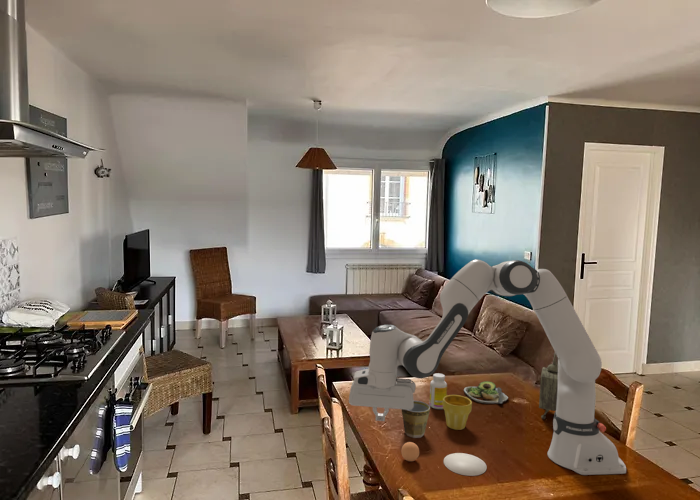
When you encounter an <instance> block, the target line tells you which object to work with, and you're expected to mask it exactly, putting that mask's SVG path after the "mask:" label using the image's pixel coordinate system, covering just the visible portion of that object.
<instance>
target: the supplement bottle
mask: <svg viewBox="0 0 700 500" xmlns="http://www.w3.org/2000/svg"><path fill="white" fill-rule="evenodd" d="M432 378H433V379H432V380H431V381H430V383H429V404H428V405H429V406H430V408H433V409H435V410H444V409H443V398H444V397H445V396H448V393H447V391H448V383H447V382H446V381H445V379H446V375H445V374H443V373H439V372H438V373H433V374H432Z"/></svg>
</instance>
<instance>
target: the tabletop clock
mask: <svg viewBox="0 0 700 500" xmlns="http://www.w3.org/2000/svg"><path fill="white" fill-rule="evenodd" d="M556 357H557V355H556V353H555V352H554V353H553V360H552V363H550V364H549V365H547V367H545V366H543V367H542V369H541V375H540V384H539V385H540V386H539V388H540V389H539V399H538V400H539V401H538V403H539V404H538V409H541V410H545V411H544V414H542V415H541V416H540V417H541V419H542V420H545V419H547V417H546V415H547V413H548V412H550V411H554V412H556V405H557V390H558V364H557V360H556Z"/></svg>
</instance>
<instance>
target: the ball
mask: <svg viewBox="0 0 700 500" xmlns="http://www.w3.org/2000/svg"><path fill="white" fill-rule="evenodd" d="M400 450H401V455H402V458H403V459H404V460H405V461H407V462H414V461H417V459H418V458H419V456H420V448H419V446H418V445H417V444H416V443H414V442H412V441H407V442H405V443H404V444H403V445H402V446H401V449H400Z"/></svg>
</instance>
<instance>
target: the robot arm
mask: <svg viewBox="0 0 700 500" xmlns="http://www.w3.org/2000/svg"><path fill="white" fill-rule="evenodd" d="M488 292H490V293H493V294H494V295H497V296H502V297H513V296H517V295H524V296H525V297H526V299H527V300H528V301H529V303H530V305H531V308H532V309H533V311H534V313H535V315H536V317H537V319H538V321H539V323H540V324H541V327H542V329H543V330H544V333H545V335H546V336H547V338H548V341H549V342H550V345H551V347H552V348H553V350H554V353H556V357H557V365H558V390H557V405H556V411H554V415H553V420H552V426H553V427H552V429H553V433H552V439H551V442H550V446H549V449H548V451H547V457H548V458H549V459H550V460H551V461H552V462H554V463H555V464H556V465H559V466H560V467H563V468H565V469H568V470H572V471H574V472H575V473H576V474H579V475H582V476H588V475H589V476H591V475H620V474H621V475H623V474H627V467H626V464H625V463H624V461H623V460H622V459H621V458H620V457H619V453H618V450H617V447H616V446H615V443H613V442H612V441H611V440H610V439H609V438H608V437H607V436H606V435H605V434H604V432H605V431H607V427H606V425H604V424H603V423H602V422H600V421H599V420H598V419H597V418H595V411H596V397H597V395H596V380H597V379H598V378H599V376H600V374H601V372H602V365H603V364H602V358H601V356H600V354H599V353H598V350H597V349H596V347H595V345H594V343H593V341H592V340H591V337H590V335H589V334H588V332H587V329H585V327H584V325H583V323H582V321H581V319H580V318H579V315H578V313H577V311H576V310H575V307H574V306H573V303H572V302H571V301H570V299H569V297H568V295H567V293H566V291H565V289H564V287H563V286H562V285H561V283H560V282H559V280H558V279H557V278H556V276H555V275H554V274H553V273H552V272H551V271H550V270H549V269H546V268H537V269H535V268H534V267H532V266H531V265H530V264H528V263H527V262H525V261H523V260H518V259H513V260H507V261H502V262H501V263H499V264H498V263H497V264H494V265H492V266H491V265H490V264H488V263H487V262H486V261H484V260H481V259H473V260H470V261H469V262H468V263H466V264H465V265H464V266H463V267H461V269H459V270H458V271H457V272H456V273H455V274H454V275H453V276H452V277H451V278H450V279H449V281H448V282H447V283H445V285H444V287H443V289H442V290H441V292H440V294H439V303H440V305H441V308H442V317H441V319H440V321H439V322H438V324H437V325H436V326H435V327H434V329H433V330H432V331H431V333H430V334H429V336H427V338H426V339H425V340H422V339H420V338H419V337H418V336H416V335H414V334H410V333H407V332H404V331H403V330H401V329H400V328H398V326H396V325H394V324H381V325H378V326H376V327H375V328H373V330H372V332H371V336H370V342H369V350H368V352H369V358H370V359H369V364H368V368H366V369H365V368H364V369H360V370H357V371H355V372H354V376H353V381H352V383H351V386H350V391H349V395H348V403H349V404H350V406H355V407H369V408H370V407H371V408H372V412H373V414H374V415H375V421H380V422H385V421H386V420H385V419H386V416H387V415H388V413H389V412H390V409H396V410H402V409H405V410H411V409H412V408H413V407H414V401H415V400H414V399H415V398H414V393H415V392H416V389H417V388H416V386H417V385H416V383H415V381H413V380H412V379H410V378H399V377H397V376H398V375H397V374H398V367H399V366H403V367H404V368H405V370H406V371H407V372H408V373H409V375H411V376H412V377H414V378H415V379H425V378H428V377H430V376H433V374H435V372H436V371H437V369H438V368H439V365H440V362H441V359H442V357H443V355H444V354H445V352H446V351H447V349H448V347H449V346H450V345H451V343H452V342H453V340H455V338H456V337H457V335H458V334H459V333H460V331H461V330H462V328H463V327H464V325H465V324H466V321H467V320H468V317H469V315H470V314H471V311H472V310H473V308H474V307H475V306H476V305H477V304H478V303H479V301H480V300H482V298H483V296H485V294H487V293H488ZM378 408H381V409H384V411H383V413H379V412H378ZM602 432H603V433H602Z"/></svg>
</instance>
